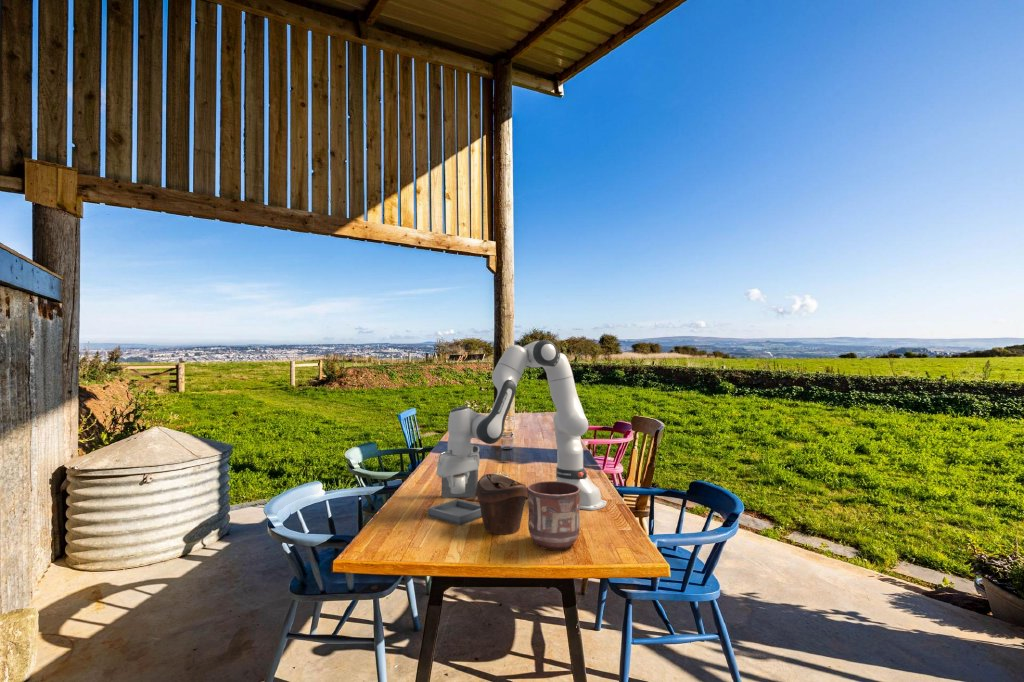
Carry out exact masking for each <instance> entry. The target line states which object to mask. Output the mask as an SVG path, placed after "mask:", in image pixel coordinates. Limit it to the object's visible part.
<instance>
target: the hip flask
mask: <svg viewBox="0 0 1024 682" xmlns="http://www.w3.org/2000/svg"><path fill="white" fill-rule="evenodd" d="M457 475H464V474H463V473H461V474H457ZM478 481H479V468H478V469H477V470H474V471H470V475H469V477H468V479H467V484H465V493H463V494H452V493H451V487H449V482H448V480H447V477H444V478H443V477H441V495H440V496H441V498H442V499H448V498H449V499H453V498H475V499H476V498H478V497H477V496H475V490H476V487H477V483H478Z"/></svg>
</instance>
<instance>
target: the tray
mask: <svg viewBox="0 0 1024 682" xmlns="http://www.w3.org/2000/svg"><path fill="white" fill-rule="evenodd" d="M427 517H428V518H432V519H436V520H439V521H442V522H446V523H450V524H453V525H457V526H463V525H465V524H468V523H471V522H474V521H477V520H478V519H481V518H482V514H481V509H480V503H473V502H470V501H466V500H461V499H453V500H451V501H447V502H445V503H441V504H438V505H434V506H432V507H427Z"/></svg>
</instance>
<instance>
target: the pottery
mask: <svg viewBox="0 0 1024 682" xmlns="http://www.w3.org/2000/svg"><path fill="white" fill-rule="evenodd" d="M526 487H527V493H528V499H527V500H528V519H527V520H528V522H527V523H528V525H527V526H528V532H529V535H530V537H531V540H532V541H533V542H534V543H535V544H536V545H537V546H538V547H539V548H542V549H545V550H547V551H548V550H549V551H561V550H566V549H569V548H571V547H572V545H574V543H576V542H577V539H578V538H579V534H580V529H581V528H580V525H581V524H580V518H581V517H580V511H581V509H580V494H581V489H580V488H579V487H578V486H576V485H574V484H570V483H566V482H558V481H557V480H556V481H555V480H554V481H553V480H550V481H549V480H547V481H538V482H537V481H536V482H533V483H531V484H529V485H528V486H526Z"/></svg>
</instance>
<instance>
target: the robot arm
mask: <svg viewBox="0 0 1024 682" xmlns="http://www.w3.org/2000/svg"><path fill="white" fill-rule="evenodd" d="M526 368H527V369H528V368H529V369H532V368H534V369H535V368H536V369H537V368H543V369H544V371H545V373H546V378H547V382H548V387H549V392H550V397H551V400H552V403H553V404H554V407H555V410H556V412H555V413H554V415H553V420H552V421H553V425H554V433H555V434H554V435H555V442H556V451H557V453H556V455H557V458H556V459H557V460H556V461H557V462H556V463H557V464H556V468H555V474H556V475H555V476H556V477H555V478H556V481H558V482H566V483H570V484H574V485H576V486H578V487H579V488H580V489H581V494H580V510H585V511H598V510H601V509H603V508H605V507H606V506H607V501H606V500H604V499H602V494H601V489H600V488H599V487H598V486H597V485H596V484H595V483H593V482H592V481H591V479H589V478H588V476H587V474H589V470H586V469H585V468H584V448H583V445H582V441H581V436H583V435H585V434H586V432H587V431H588V429H589V420H588V419H587V417H586V415H585V411H584V409H583V406H582V403H581V400H580V398H579V396H578V392H577V389H576V383H575V379H574V373H573V370H572V367H571V365H570V362H569V359H568V357H567V356H566V354H564V353H562V352H560V351H559V349H558V348H557V346H556V345H555V343H554V342H552V341H550V340H548V339H542V340H535V341H532V342H531V343H526V344H525V345H523V346H521V345H518V344H512V345H509V346H508V347H507V349H506V350H504V353H503V354H502V355H501V356H500V358H499V360H498V362H497V363H496V366H495V367H494V369H493V372H492V375H491V379H492V383H493V385H494V387H495V388H496V391H497V394H496V398H495V401H494V403H493V405H492V408H491V410H490V413H488V415H484V414H480V413H478V412H476V411H474V410H473V409H472V408H470V406H466V405H465V406H457V407H455V408H452V409H451V410H450V411H449V416H448V421H447V432H448V438H447V451H446V450H445V451H442V452H441V453H440V454H439V455H438V461H437V466H436V475H437V477H440V478H442V477H443V478H444V477H447V480H448V482H449V487H454V486H455V482H453V480H452V478H453V475H457V474H461V473H463V474H464V475H465V484H467V479H468V477H469V475H470V471H474V470H477V469H478V470H479V467H480V454H479V452H480V446H478V445H476V444H475V445H474V444H472V442H471V440H472V439H476V440H479V441H481V442H483V443H484V444H487V445H493V444H495V443H497V442H498V441H500V440H501V438H502V437H503V434H504V429H505V422H506V418H507V416H508V414H509V412H510V411H509V410H510V408H511V406H512V404H513V401H514V398H515V395H516V391H517V386H518V383H519V381H520V379H521V377H522V375H523V374H524V373H523V372H524V370H526Z"/></svg>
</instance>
